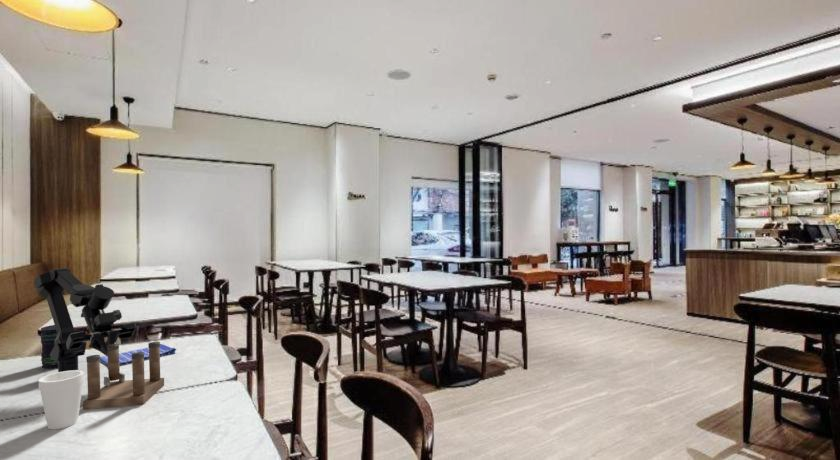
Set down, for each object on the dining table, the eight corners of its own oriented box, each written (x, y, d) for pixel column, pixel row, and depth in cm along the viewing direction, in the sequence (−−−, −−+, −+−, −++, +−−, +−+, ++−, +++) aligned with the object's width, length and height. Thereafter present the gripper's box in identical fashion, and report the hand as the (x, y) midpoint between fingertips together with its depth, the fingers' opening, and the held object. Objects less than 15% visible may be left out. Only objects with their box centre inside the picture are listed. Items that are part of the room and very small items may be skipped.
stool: (80, 409, 127) (78, 359, 127) (109, 388, 144) (108, 343, 144) (143, 404, 131) (142, 354, 130) (165, 384, 147) (164, 340, 147)
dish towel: (177, 354, 183) (177, 347, 183) (111, 369, 165) (110, 362, 165) (161, 347, 194) (161, 341, 194) (97, 361, 176) (97, 354, 176)
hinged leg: (106, 380, 141) (105, 345, 141) (117, 377, 144) (116, 343, 144) (110, 381, 139) (109, 347, 140) (122, 378, 142) (120, 344, 142)
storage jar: (72, 359, 177) (71, 322, 177) (76, 364, 170) (75, 326, 170) (39, 365, 170) (38, 327, 169) (42, 371, 163) (41, 331, 163)
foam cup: (93, 418, 121) (91, 372, 121) (55, 434, 113) (54, 383, 112) (69, 414, 124) (68, 369, 124) (31, 429, 116) (30, 380, 115)
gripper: (68, 308, 138) (83, 348, 132) (133, 299, 153) (149, 334, 147) (59, 330, 142) (74, 369, 136) (124, 319, 158) (139, 354, 152)
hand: (111, 356), depth 143 cm, fingers closed, pressing on hinged leg
